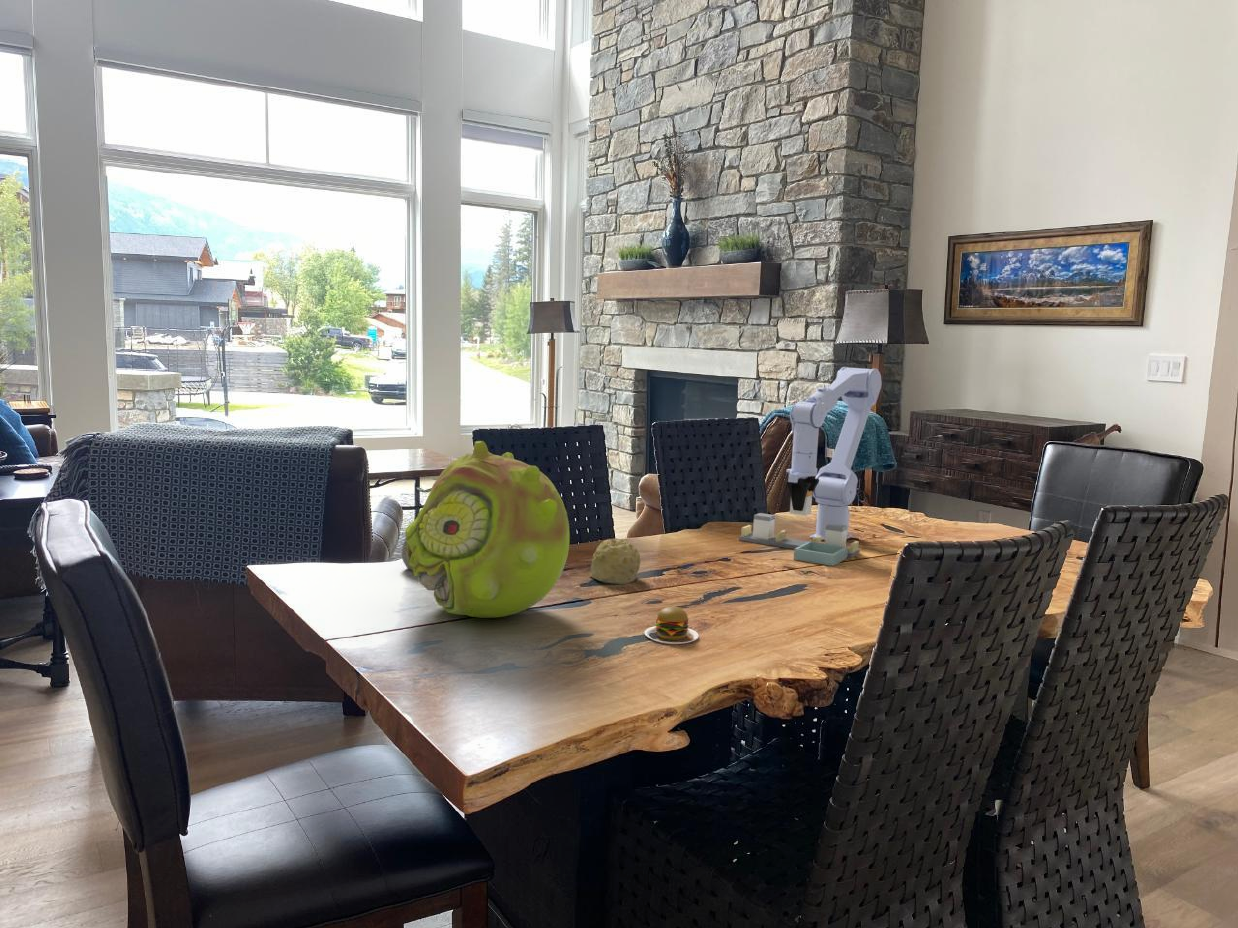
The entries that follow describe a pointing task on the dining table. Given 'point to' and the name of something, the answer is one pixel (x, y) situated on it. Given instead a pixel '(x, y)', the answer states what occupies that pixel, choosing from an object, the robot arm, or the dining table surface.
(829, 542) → the block
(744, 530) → the block
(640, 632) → the dining table surface
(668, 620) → the hamburger
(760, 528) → the block
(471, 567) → the monster head
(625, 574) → the rock
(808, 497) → the block
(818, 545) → the tray
